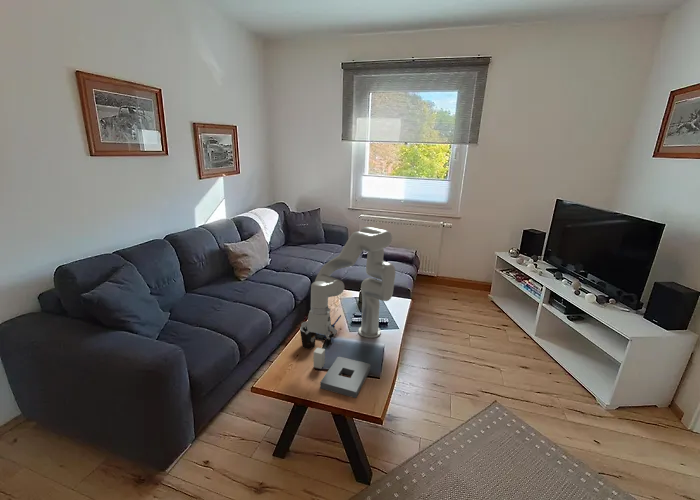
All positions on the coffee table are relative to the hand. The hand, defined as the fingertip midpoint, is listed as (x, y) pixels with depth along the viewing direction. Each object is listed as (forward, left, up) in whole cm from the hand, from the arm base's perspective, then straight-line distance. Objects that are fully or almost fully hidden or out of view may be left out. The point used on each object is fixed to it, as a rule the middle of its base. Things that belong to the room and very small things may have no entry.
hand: (318, 343), depth 152 cm
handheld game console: (-29, -9, -13) cm, 33 cm away
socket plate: (+3, +15, -12) cm, 20 cm away
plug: (-1, 0, -12) cm, 12 cm away
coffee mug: (-15, -11, -12) cm, 22 cm away
